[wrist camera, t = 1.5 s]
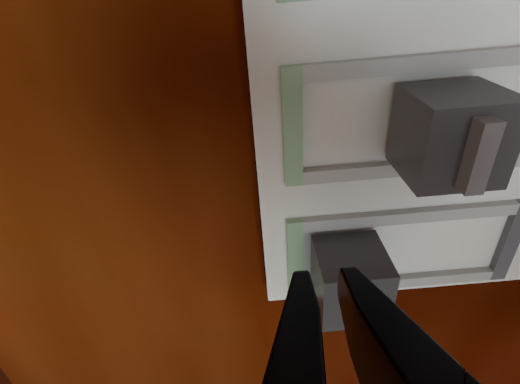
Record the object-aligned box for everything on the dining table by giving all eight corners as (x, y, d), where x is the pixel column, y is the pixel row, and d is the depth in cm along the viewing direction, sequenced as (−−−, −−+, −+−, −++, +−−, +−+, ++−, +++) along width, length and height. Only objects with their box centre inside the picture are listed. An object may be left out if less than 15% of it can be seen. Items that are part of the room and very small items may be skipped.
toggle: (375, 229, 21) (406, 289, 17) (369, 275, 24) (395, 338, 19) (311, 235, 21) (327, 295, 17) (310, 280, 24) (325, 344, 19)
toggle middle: (477, 75, 17) (554, 107, 13) (458, 151, 19) (518, 199, 15) (395, 82, 17) (444, 117, 13) (385, 157, 19) (424, 207, 15)
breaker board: (808, -276, 12) (899, -316, 11) (543, 261, 26) (564, 281, 24) (222, -227, 12) (219, -259, 11) (267, 285, 26) (268, 306, 24)
